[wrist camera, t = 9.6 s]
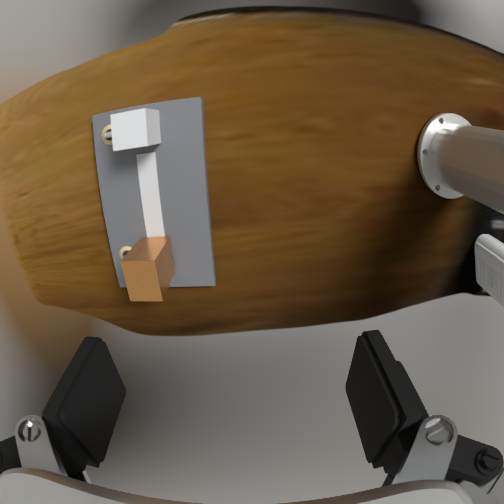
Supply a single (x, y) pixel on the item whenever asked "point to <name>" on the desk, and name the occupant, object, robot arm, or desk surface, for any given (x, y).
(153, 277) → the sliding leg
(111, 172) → the slide rail plate
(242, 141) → the desk surface
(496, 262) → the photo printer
